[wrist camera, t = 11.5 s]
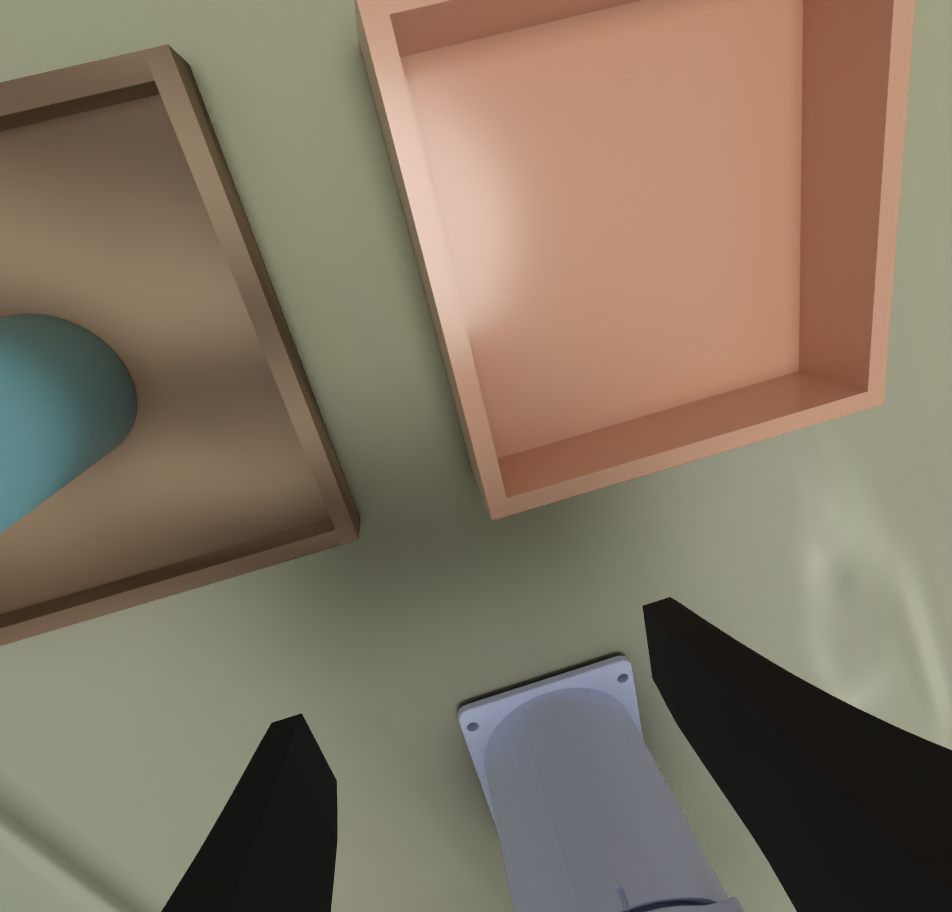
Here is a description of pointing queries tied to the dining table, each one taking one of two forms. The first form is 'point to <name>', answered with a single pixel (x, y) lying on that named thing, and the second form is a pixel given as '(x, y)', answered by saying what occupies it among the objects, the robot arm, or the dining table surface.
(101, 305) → the tray
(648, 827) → the robot arm
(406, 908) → the dining table surface
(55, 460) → the teal cylinder
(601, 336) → the pink storage bin
